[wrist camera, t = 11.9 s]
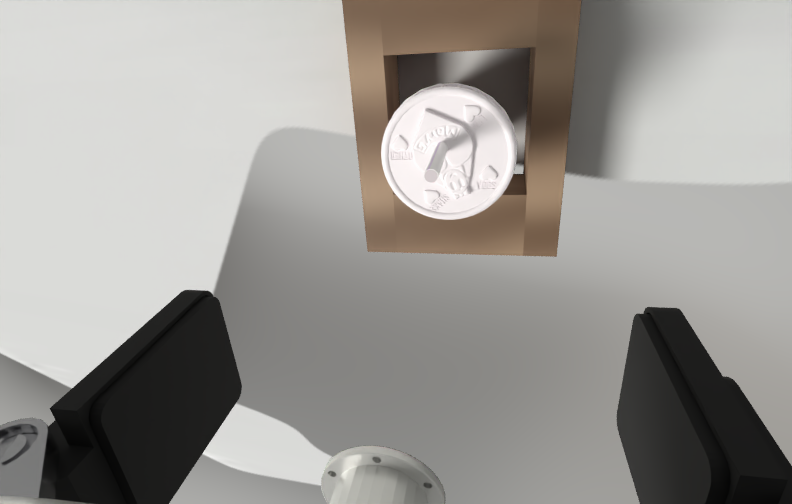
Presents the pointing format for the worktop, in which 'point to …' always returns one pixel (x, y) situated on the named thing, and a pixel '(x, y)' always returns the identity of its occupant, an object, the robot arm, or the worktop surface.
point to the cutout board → (545, 125)
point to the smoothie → (449, 151)
